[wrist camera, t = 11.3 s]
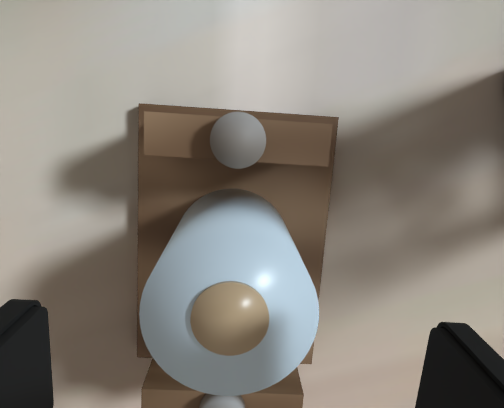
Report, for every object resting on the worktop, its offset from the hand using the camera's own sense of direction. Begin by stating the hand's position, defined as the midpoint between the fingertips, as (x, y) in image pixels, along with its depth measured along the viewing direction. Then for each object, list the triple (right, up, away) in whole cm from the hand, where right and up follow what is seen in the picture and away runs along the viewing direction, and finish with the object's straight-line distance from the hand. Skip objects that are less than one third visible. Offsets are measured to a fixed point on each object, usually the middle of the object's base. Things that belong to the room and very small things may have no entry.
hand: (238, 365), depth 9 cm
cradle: (-1, +2, +12) cm, 12 cm away
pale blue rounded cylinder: (-1, +2, +11) cm, 12 cm away
